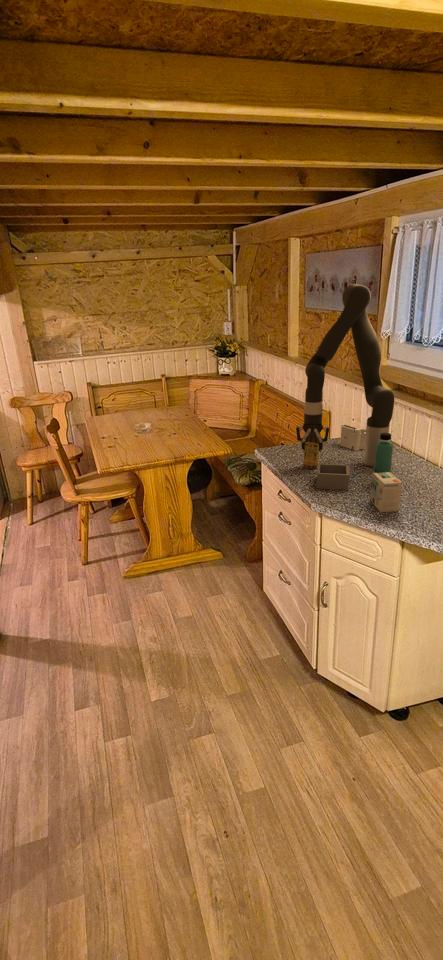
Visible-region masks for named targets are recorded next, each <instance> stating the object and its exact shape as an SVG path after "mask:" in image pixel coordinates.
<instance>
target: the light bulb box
mask: <svg viewBox="0 0 443 960" xmlns="http://www.w3.org/2000/svg"><path fill="white" fill-rule="evenodd" d="M402 485H403V482H402V481H401V480H400V479H398V477H396V476H395V475H394V474H393V473H392V471H391V472H385V473H374V472H373V473H372V479H371V490H370V497H369V498H370V499H369V500H370V501H371V503H372V504H373V505H374V506H375V507H376V508H377V509H378V511H379V512H380V513H387V512H390V513H391V512H399V509H400V502H401V495H402V494H401V493H402Z"/></svg>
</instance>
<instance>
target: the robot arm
mask: <svg viewBox="0 0 443 960" xmlns="http://www.w3.org/2000/svg"><path fill="white" fill-rule="evenodd" d="M371 298H372V294H371V291H370V289H369V288H368V287H367V286H365V285H363V284H362V285H361V284H357V283H354V284H350V285H347V287H345V289H344V290H343V292H342V296H341V299H342V304H343V306H344V307H343V310H342V312H341V313H340V315H339V317H338V318H337V320H336V321H335V322H334V324H333V325H332V326H331V328H330V329H329V330H328V331H327V332H326V334H325V335H324V337H323V338H322V340H321V341H320V344H319V346H318V348H317V349H316V352H315V353H314V354H313V355H312V357H311V359H309V361H308V363H307V364H306V366H305V371H304V372H305V375H306V377H307V379H306V385H307V386H306V388H305V394H304V395H305V396H304V398H305V400H304V405H303V407H304V409H303V425H300V426H299V425H297V426H296V428H295V430H296V439H297V440H296V441H299V442H301V450H302V451H303V452H304V451H305V440H306V438H307V436H308V434H309V433H310V431H311V429H310V426H309V425H318V427H317V429H314V431H315V433H316V435H317V437H318V439H319V441H320V442H319V452H321V451H322V450H323V447H324V446H323V443H325V442H328V438H329V434H330V433H329V432H330V426H324V425H323V413H324V411H323V410H324V408H323V407H324V405H323V398H324V397H323V395H324V394H323V393H324V391H323V390H324V384H325V379H326V378H325V376H326V370H325V368H326V366H327V364H328V363H329V362H330V361H331V360H332V359H333V358H334V357H335V355H336V353H337V352H338V350H339V347H341V344H342V343H343V341H344V339H345V337H346V336H347V334H348V332H350V330H351V335H352V340H353V343H354V344H353V345H354V350H355V353H356V359H357V362H358V365H359V371H360V372H361V376H362V382H363V391H364V396H365V401H366V403H367V405H369V407H371V408H372V411H371V415H370V416H369V417H368V418H367V419H366V427H365V429H366V432H365V434H366V439H365V445H364V447H365V450H363V452H364V453H363V464H364V465H365V466H368V467H373V468H375V458H376V457H375V456H376V455H375V453H376V447H377V443H378V442H380V441H389V440H381V439H380V435H381V433H390V432H389V431H390V423H391V421H392V419H393V414H394V409H395V408H394V407H395V394H394V392H393V391H392V390H390V389H389V388H387V387H384V385H383V383H382V379H381V375H380V366H381V363H382V362H381V361H382V353H381V352H382V351H381V347H380V343H379V340H378V338H379V337H378V335H377V333H376V332H375V329H374V327H373V326H372V323H371V321H370V318H369V316H368V311H367V307H368V305H369V304H370V302H371V300H372V299H371ZM302 430H303V431H304V434H303V436H302V437H301V432H302ZM322 431H323V432H324V437H322V435H321V433H322ZM318 435H319V436H318Z"/></svg>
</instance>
